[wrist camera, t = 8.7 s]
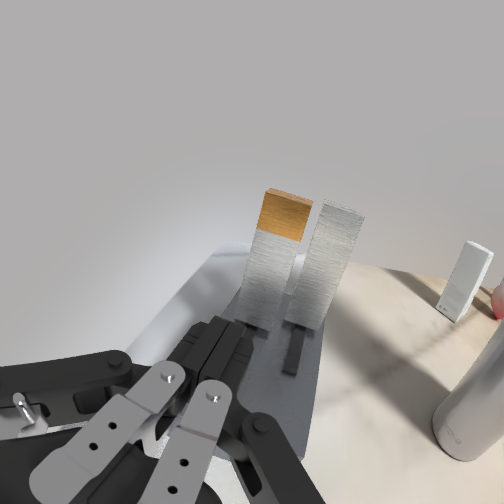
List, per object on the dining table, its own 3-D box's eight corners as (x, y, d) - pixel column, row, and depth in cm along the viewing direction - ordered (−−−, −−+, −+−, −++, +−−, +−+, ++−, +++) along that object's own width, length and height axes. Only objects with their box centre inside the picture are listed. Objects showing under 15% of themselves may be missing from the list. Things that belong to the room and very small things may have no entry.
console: (239, 305, 37) (246, 276, 35) (314, 331, 35) (326, 303, 33) (161, 432, 18) (161, 404, 17) (284, 477, 17) (305, 455, 15)
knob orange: (239, 307, 29) (271, 188, 24) (274, 319, 28) (313, 201, 23) (233, 318, 27) (265, 191, 22) (270, 331, 26) (311, 205, 21)
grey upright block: (287, 309, 30) (324, 199, 25) (319, 319, 30) (362, 212, 25) (284, 319, 28) (323, 203, 23) (318, 331, 28) (364, 217, 23)
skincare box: (454, 324, 44) (490, 255, 38) (432, 307, 49) (465, 239, 43) (465, 314, 49) (496, 253, 43) (445, 300, 53) (474, 239, 47)
